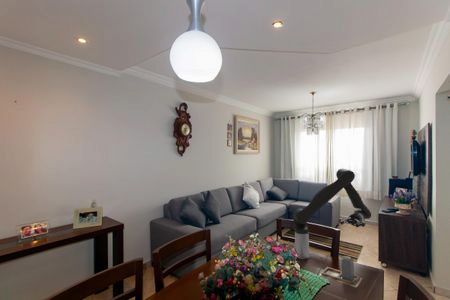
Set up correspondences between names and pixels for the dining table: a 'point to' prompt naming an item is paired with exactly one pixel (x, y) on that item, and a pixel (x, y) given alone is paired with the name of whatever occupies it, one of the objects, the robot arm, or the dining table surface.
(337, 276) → the dock
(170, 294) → the dining table surface
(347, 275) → the plug
